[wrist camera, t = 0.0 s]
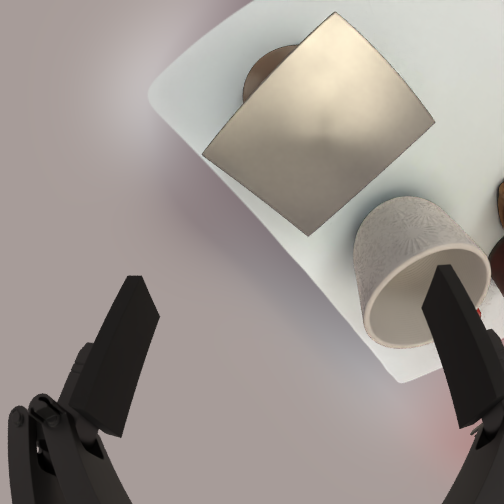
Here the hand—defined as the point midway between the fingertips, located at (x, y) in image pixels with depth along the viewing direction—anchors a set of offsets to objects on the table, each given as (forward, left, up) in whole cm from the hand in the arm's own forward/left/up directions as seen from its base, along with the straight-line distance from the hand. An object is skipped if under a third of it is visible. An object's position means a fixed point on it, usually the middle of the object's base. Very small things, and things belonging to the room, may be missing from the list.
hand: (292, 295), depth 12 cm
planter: (+14, +17, -26) cm, 34 cm away
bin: (-4, +2, -25) cm, 25 cm away
